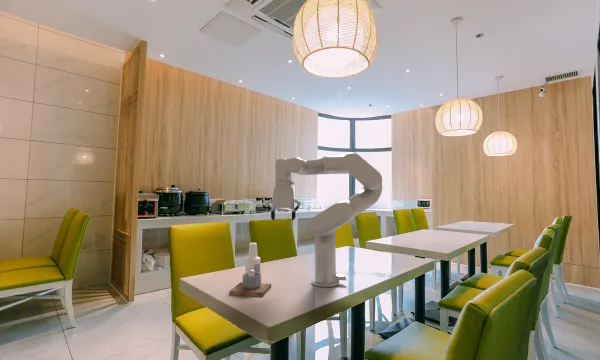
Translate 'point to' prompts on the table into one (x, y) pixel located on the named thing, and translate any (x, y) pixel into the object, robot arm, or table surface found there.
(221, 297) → the table surface
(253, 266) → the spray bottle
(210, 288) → the table surface
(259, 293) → the walnut base
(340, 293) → the table surface
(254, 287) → the ring
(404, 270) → the table surface
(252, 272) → the steel shaft
